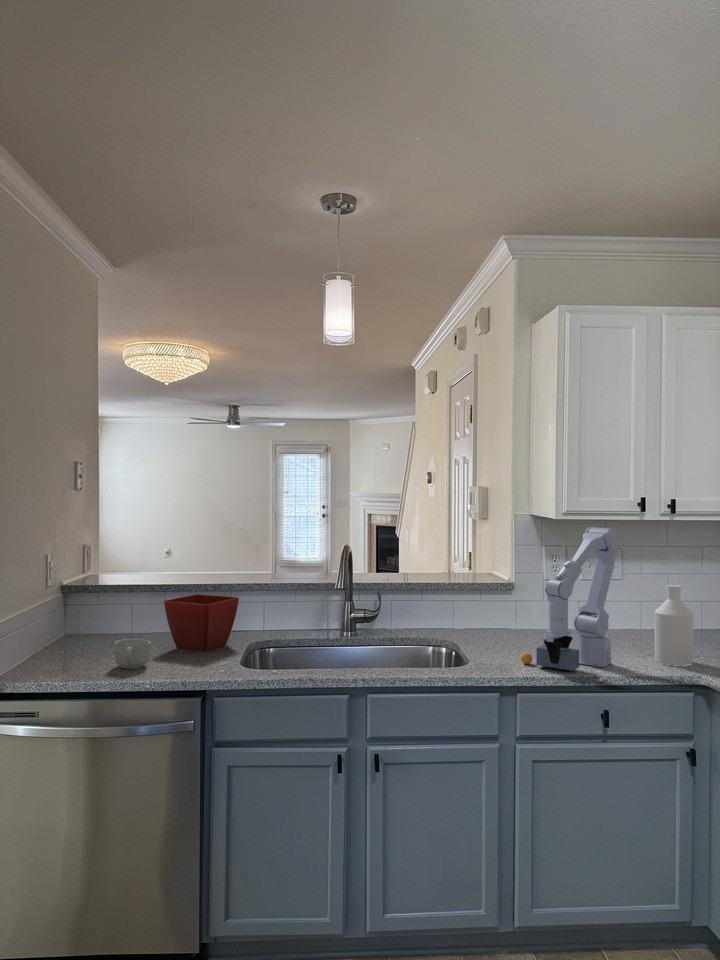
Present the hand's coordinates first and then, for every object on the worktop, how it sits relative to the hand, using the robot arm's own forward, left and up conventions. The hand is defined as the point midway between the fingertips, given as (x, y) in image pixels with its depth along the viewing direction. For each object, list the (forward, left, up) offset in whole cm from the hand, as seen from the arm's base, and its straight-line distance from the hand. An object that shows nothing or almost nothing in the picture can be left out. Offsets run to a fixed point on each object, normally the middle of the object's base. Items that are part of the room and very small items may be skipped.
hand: (558, 661), depth 234 cm
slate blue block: (0, 0, -2) cm, 2 cm away
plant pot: (+112, +47, -3) cm, 121 cm away
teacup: (+106, +81, -3) cm, 133 cm away
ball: (+11, 0, -1) cm, 11 cm away
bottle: (-26, -32, -3) cm, 42 cm away
